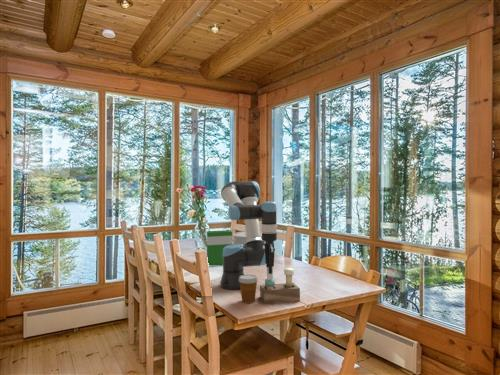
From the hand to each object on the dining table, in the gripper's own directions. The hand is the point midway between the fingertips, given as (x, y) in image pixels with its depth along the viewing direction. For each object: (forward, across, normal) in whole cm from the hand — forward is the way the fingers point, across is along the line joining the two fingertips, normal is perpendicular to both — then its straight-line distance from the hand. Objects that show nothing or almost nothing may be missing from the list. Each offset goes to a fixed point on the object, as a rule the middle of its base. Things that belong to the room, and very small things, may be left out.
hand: (269, 279), depth 171 cm
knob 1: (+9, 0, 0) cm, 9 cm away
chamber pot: (+10, +112, -8) cm, 113 cm away
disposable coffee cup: (+10, 0, +11) cm, 15 cm away
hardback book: (+10, +82, +18) cm, 85 cm away
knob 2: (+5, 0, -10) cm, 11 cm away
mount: (+10, 0, -5) cm, 11 cm away
